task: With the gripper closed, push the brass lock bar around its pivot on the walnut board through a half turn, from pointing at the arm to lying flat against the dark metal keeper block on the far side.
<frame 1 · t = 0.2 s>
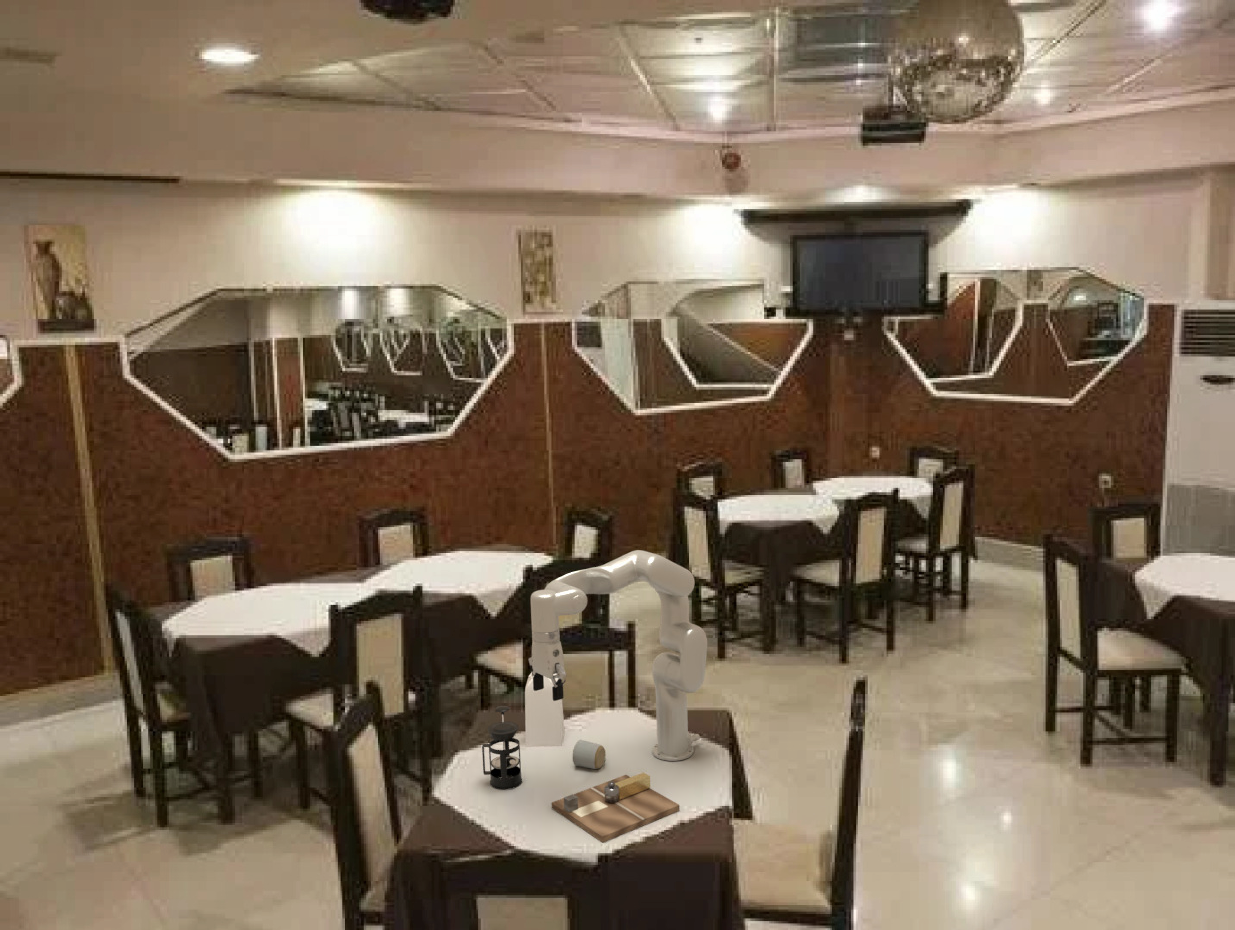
hand: (548, 694, 283), 31 cm above the table, fingers open, 9 cm apart
board: (615, 809, 280), on the table
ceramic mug: (590, 765, 308), on the table
french press: (504, 782, 298), on the table
milk: (545, 738, 328), on the table
lock bar: (626, 787, 285), point 4 cm above the table, hinge at 0.0°
pin cap: (612, 805, 282), resting on board
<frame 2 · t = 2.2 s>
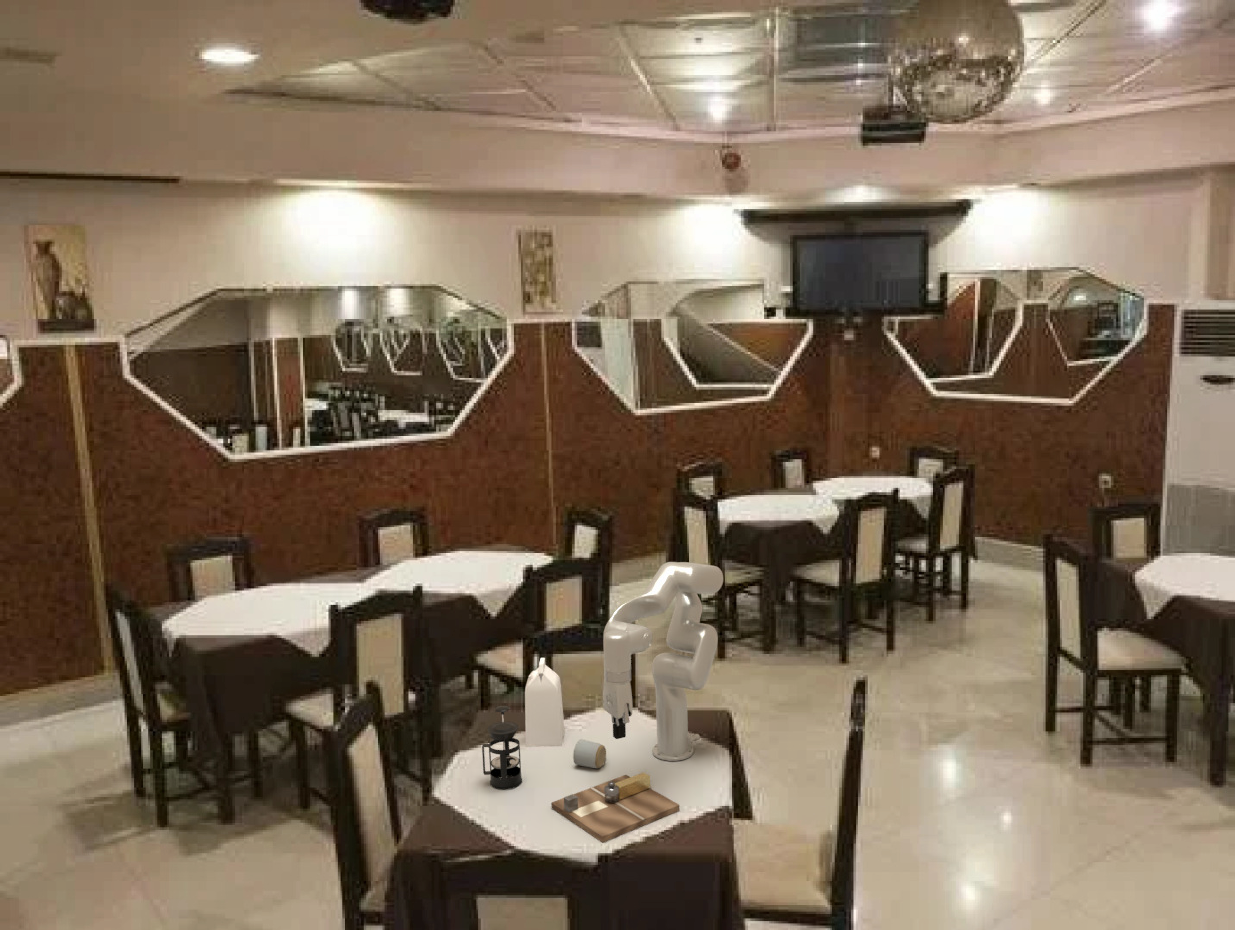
hand: (619, 737, 288), 16 cm above the table, fingers closed
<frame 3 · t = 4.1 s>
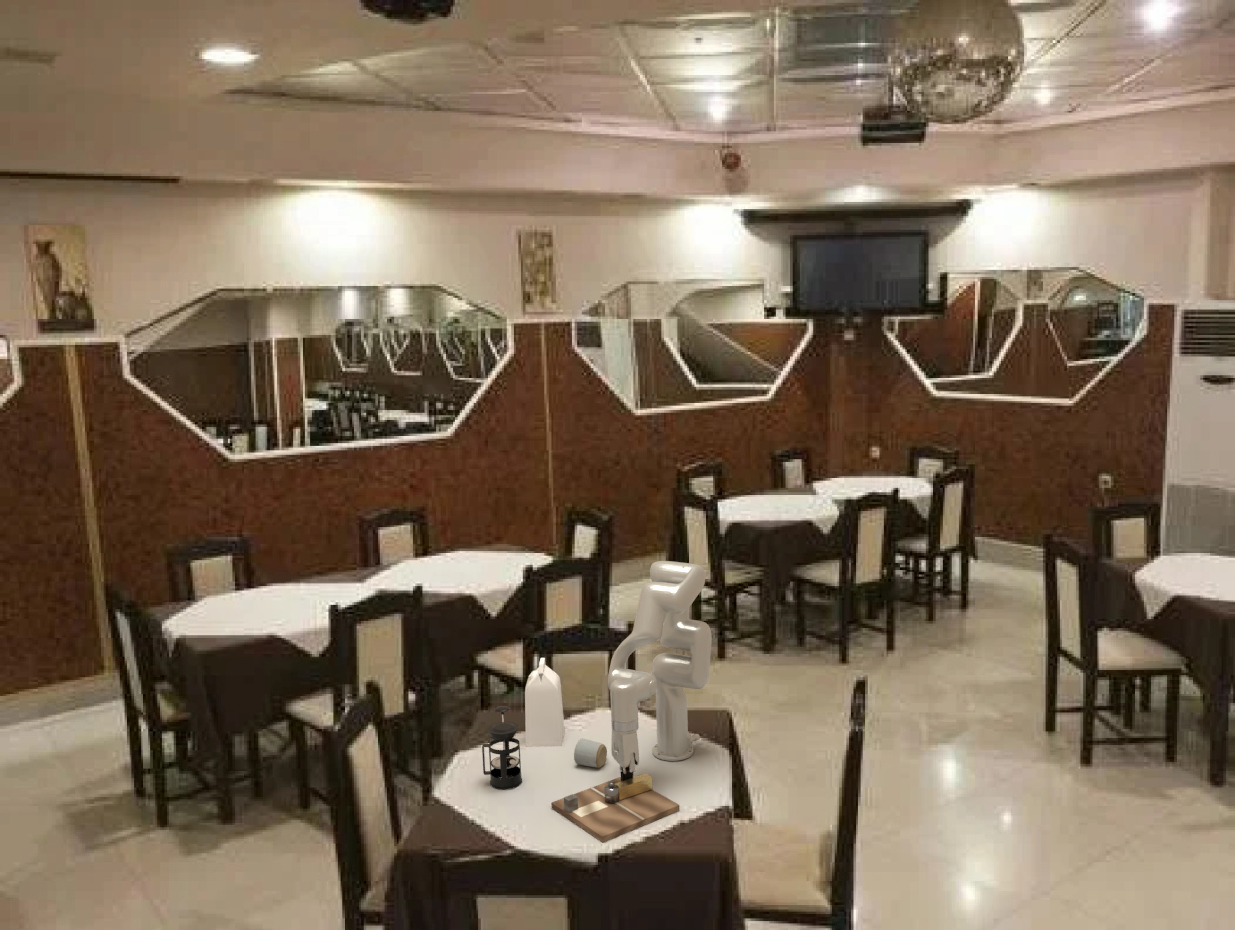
hand: (627, 784, 289), 3 cm above the table, fingers closed
lock bar: (627, 788, 284), point 4 cm above the table, hinge at -4.8°, touching gripper
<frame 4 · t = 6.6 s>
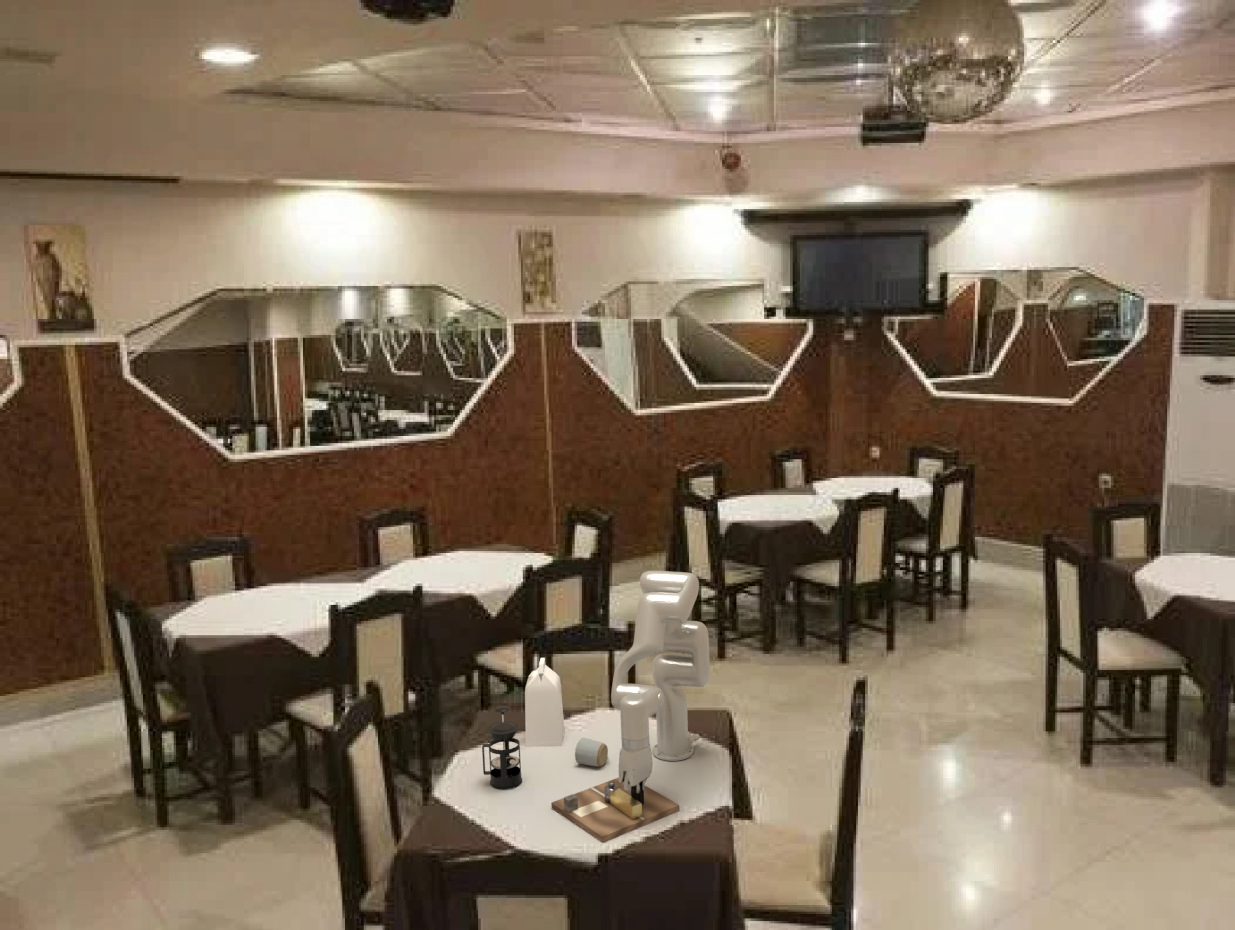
hand: (637, 803, 278), 2 cm above the table, fingers closed
lock bar: (622, 800, 277), point 4 cm above the table, hinge at -93.9°, touching gripper
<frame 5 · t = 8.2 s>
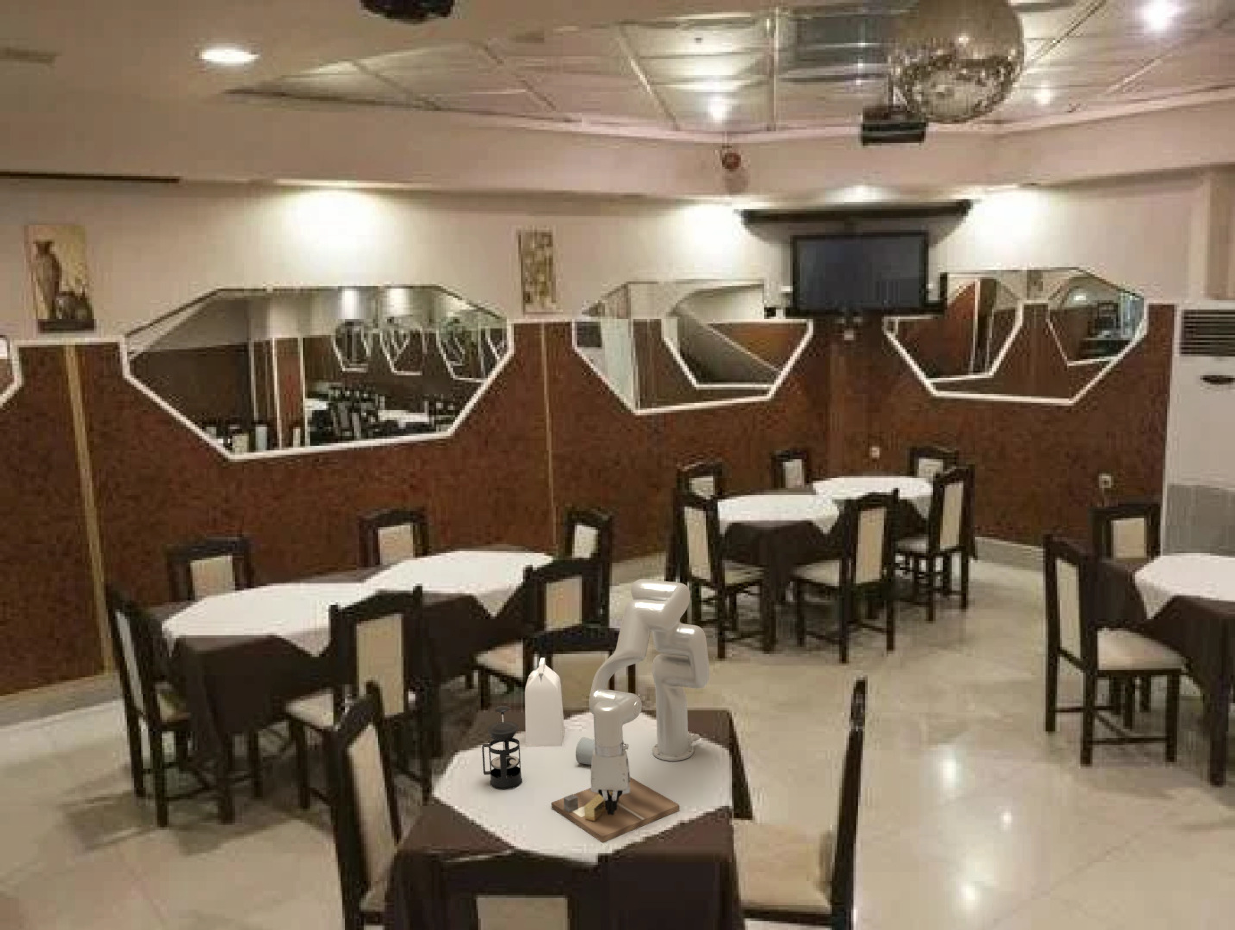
hand: (611, 812, 274), 2 cm above the table, fingers closed
lock bar: (602, 801, 277), point 4 cm above the table, hinge at -155.4°, touching gripper
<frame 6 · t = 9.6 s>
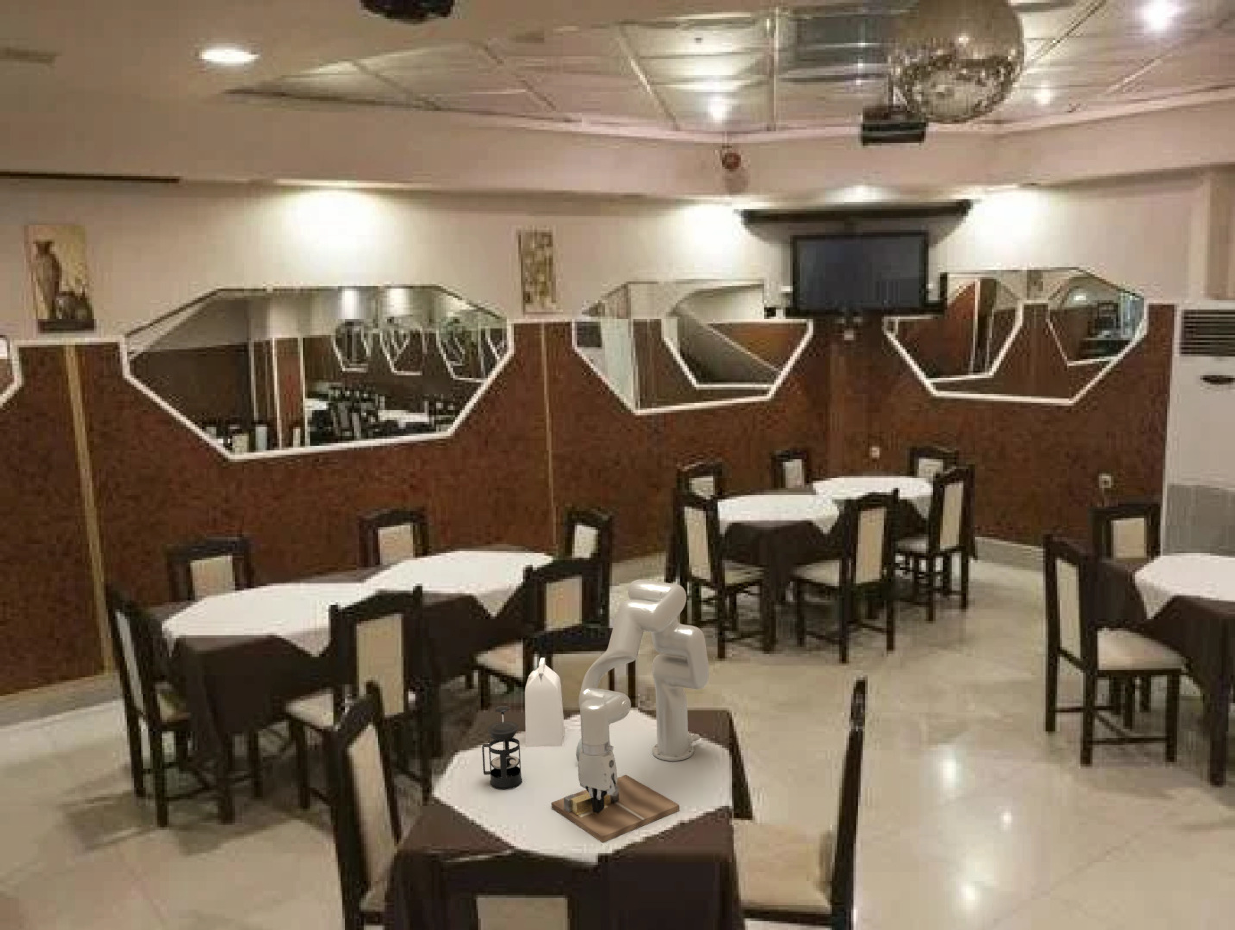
hand: (598, 810, 275), 3 cm above the table, fingers closed
lock bar: (596, 799, 279), point 4 cm above the table, hinge at -182.3°, touching board
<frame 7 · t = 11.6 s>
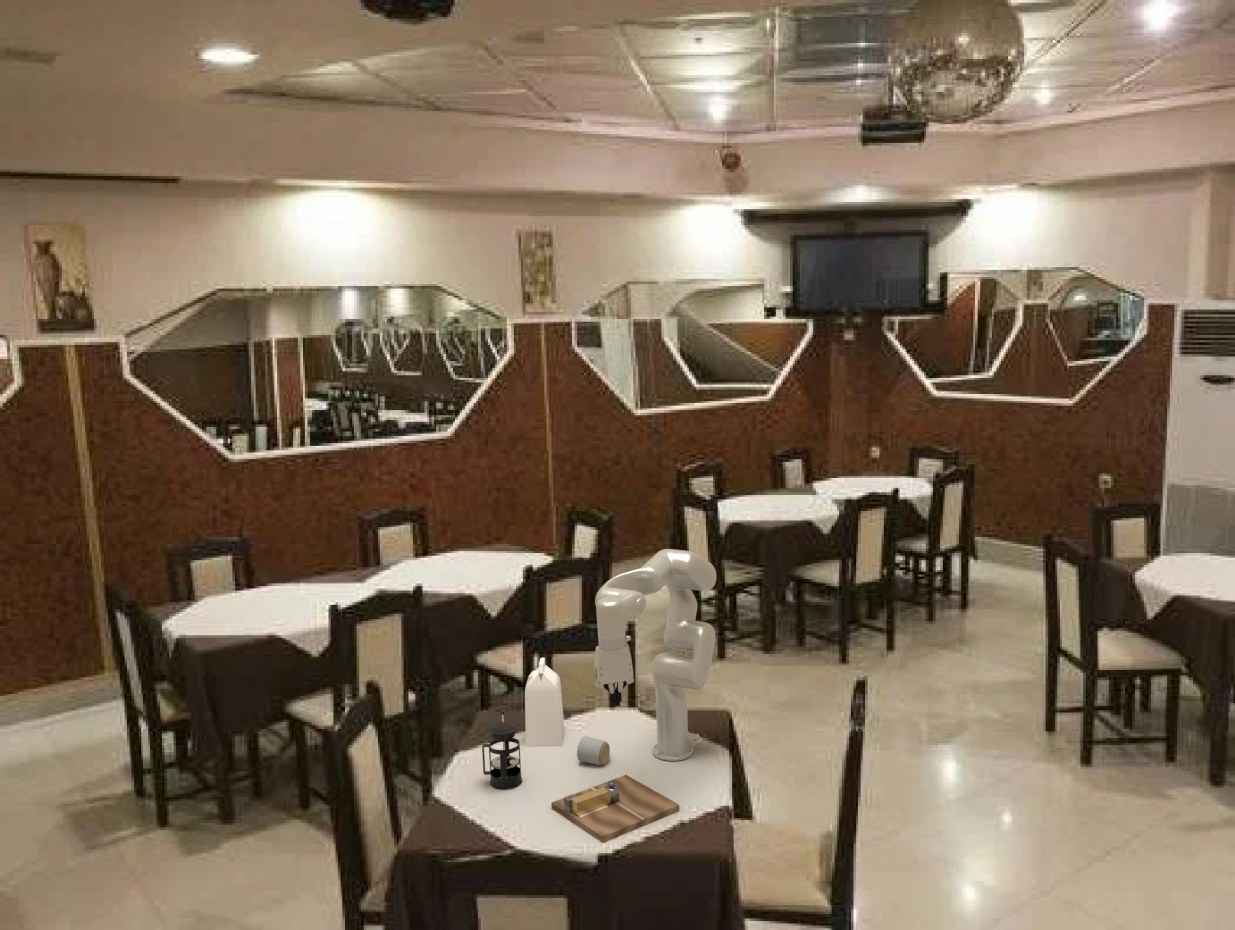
hand: (616, 704, 283), 27 cm above the table, fingers closed
lock bar: (596, 799, 279), point 4 cm above the table, hinge at -182.3°
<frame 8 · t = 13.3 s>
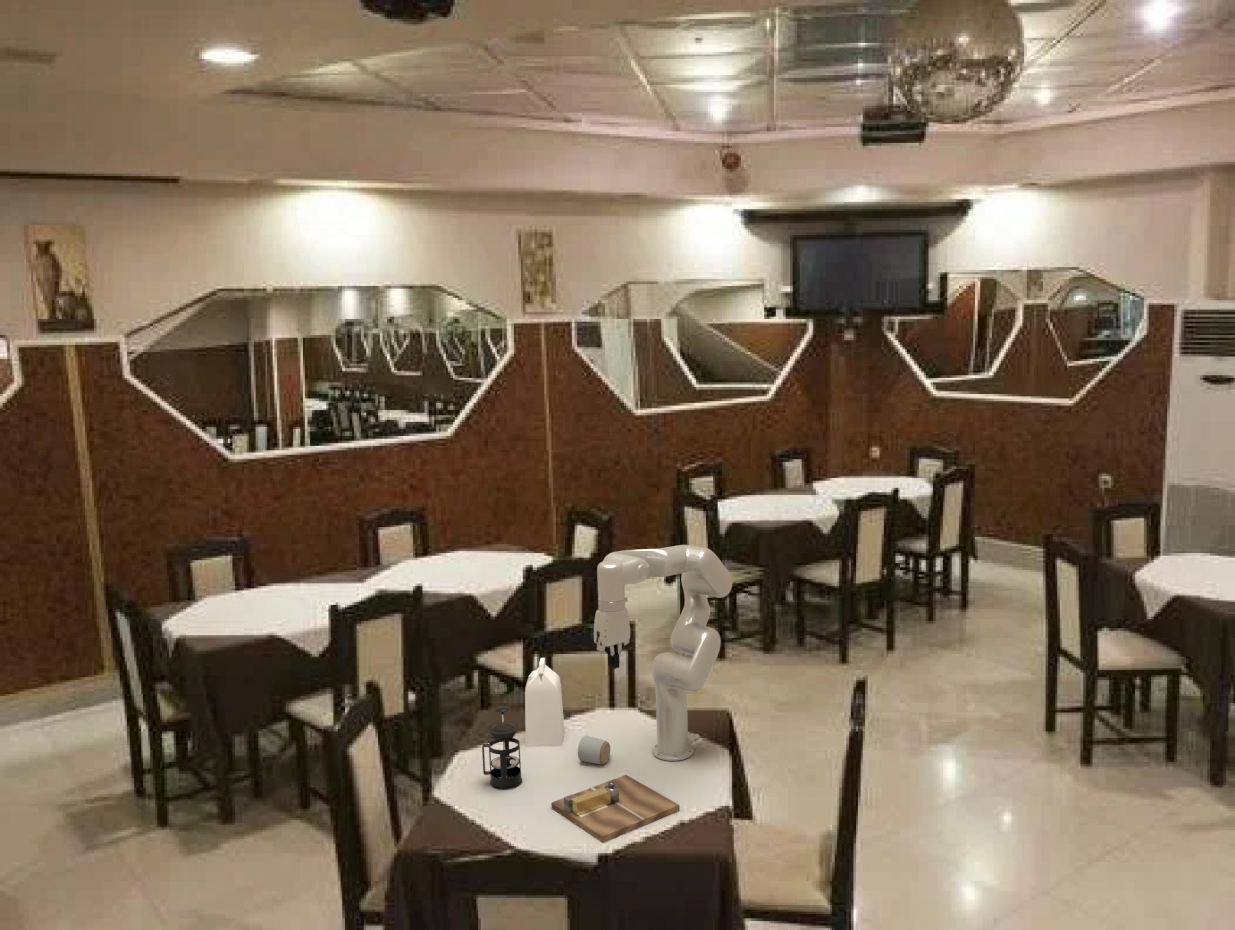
hand: (613, 666, 290), 35 cm above the table, fingers closed
at the end: lock bar at -182° (first picture: +0°) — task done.
